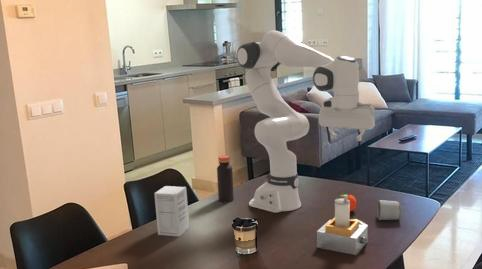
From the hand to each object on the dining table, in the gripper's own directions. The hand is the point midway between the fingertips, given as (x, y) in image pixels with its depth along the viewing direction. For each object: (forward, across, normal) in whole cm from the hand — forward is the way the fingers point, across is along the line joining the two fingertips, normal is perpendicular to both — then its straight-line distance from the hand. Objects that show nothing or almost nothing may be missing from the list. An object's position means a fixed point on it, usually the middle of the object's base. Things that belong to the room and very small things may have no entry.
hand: (346, 139), depth 192 cm
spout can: (+28, -4, +15) cm, 32 cm away
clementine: (+34, +6, -17) cm, 39 cm away
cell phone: (+35, +1, -1) cm, 35 cm away
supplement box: (+34, +58, +31) cm, 74 cm away
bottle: (+34, +59, -8) cm, 69 cm away
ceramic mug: (+34, -11, -16) cm, 40 cm away
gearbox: (+34, -4, +15) cm, 37 cm away
